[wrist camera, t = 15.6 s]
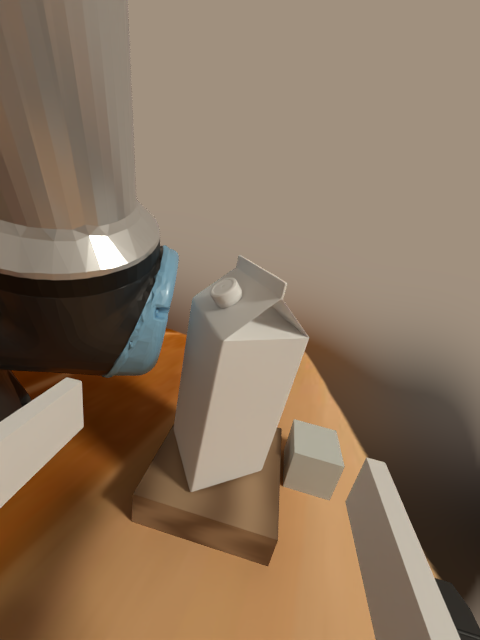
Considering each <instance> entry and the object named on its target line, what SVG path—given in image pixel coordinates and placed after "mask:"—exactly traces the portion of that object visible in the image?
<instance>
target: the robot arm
mask: <svg viewBox="0 0 480 640" xmlns="http://www.w3.org/2000/svg"><path fill="white" fill-rule="evenodd" d="M178 257H179V256H178V253H177V252H176V251H174V250H172V249H170V248H168V247H167V246H160V231H159V225H158V222H157V220H156V219H155V217H154V216H153V215H152V214H151V213H150V212H149V211H148V210H147V209H146V208H145V207H144V206H143V205H142V204H140V202H139V201H138V200H137V199H136V178H135V155H134V133H133V110H132V88H131V64H130V42H129V19H128V0H0V508H1V507H2V506H3V505H4V504H5V503H6V502H7V501H8V500H9V499H10V498H11V497H12V496H13V495H14V494H15V493H16V492H17V491H18V490H19V489H20V488H21V487H22V486H23V485H24V484H25V483H26V482H27V481H28V480H29V479H31V478H32V477H33V476H34V475H35V474H36V473H37V472H38V471H39V470H40V469H41V468H42V467H43V466H44V465H45V464H46V463H47V462H48V461H49V460H50V459H51V458H52V457H53V456H54V455H55V454H56V453H57V452H58V451H59V450H60V449H61V448H62V447H63V446H64V445H65V444H67V443H68V442H69V441H70V440H71V439H72V438H73V437H74V436H75V435H76V434H77V433H78V432H79V431H80V430H81V429H82V428H83V427H84V422H83V399H82V381H79V380H76V379H72V378H68V377H66V378H65V379H63V380H62V381H60V382H59V383H57V384H56V385H54V386H53V387H51V388H50V389H48V390H47V391H46V392H44V393H43V394H41V395H40V396H38V397H37V398H35V399H34V400H31V398H30V396H29V395H28V393H27V392H26V391H25V389H24V388H23V386H22V385H21V384H20V382H19V381H18V380H17V378H16V377H15V375H14V374H13V373H12V371H11V370H17V371H36V372H54V373H69V374H84V375H99V376H102V377H106V378H109V377H112V376H114V375H129V376H136V375H143V374H145V373H147V372H149V371H150V370H151V369H153V367H154V366H155V365H156V363H157V360H158V357H159V354H160V350H161V347H162V342H163V338H164V334H165V329H166V324H167V318H168V312H169V309H170V303H171V300H172V296H173V291H174V285H175V280H176V274H177V268H178V260H179V259H178ZM346 506H347V511H348V516H349V520H350V525H351V529H352V534H353V538H354V543H355V547H356V552H357V557H358V561H359V566H360V570H361V575H362V579H363V584H364V588H365V593H366V597H367V602H368V607H369V611H370V616H371V620H372V625H373V629H374V634H375V638H376V640H480V628H479V626H478V624H477V622H476V620H475V618H474V616H473V614H472V612H471V610H470V608H469V607H468V605H467V604H466V603H465V601H464V600H463V598H462V597H461V596H460V594H459V593H458V592H457V590H456V589H455V588H454V586H453V585H452V583H449V582H446V581H443V580H439V579H436V578H434V576H433V574H432V571H431V569H430V567H429V564H428V562H427V560H426V557H425V555H424V553H423V550H422V548H421V546H420V543H419V541H418V539H417V537H416V534H415V532H414V529H413V527H412V525H411V522H410V520H409V518H408V515H407V513H406V511H405V508H404V506H403V503H402V501H401V499H400V497H399V494H398V492H397V490H396V487H395V485H394V482H393V480H392V478H391V475H390V473H389V471H388V468H387V466H386V464H385V463H384V462H381V461H377V460H374V459H370V458H366V459H365V462H364V464H363V466H362V468H361V470H360V472H359V474H358V476H357V478H356V481H355V483H354V485H353V487H352V489H351V491H350V493H349V495H348V497H347V500H346Z"/></svg>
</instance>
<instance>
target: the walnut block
mask: <svg viewBox="0 0 480 640" xmlns="http://www.w3.org/2000/svg"><path fill="white" fill-rule="evenodd" d="M280 458H281V428H277V429H276V432H275V435H274V437H273V440H272V443H271V446H270V448H269V451H268V454H267V457H266V460H265V462H264V465H263V468H262V470H261V471H258V472H255V473H252V474H249V475H246V476H242V477H239V478H236V479H233V480H229V481H226V482H223V483H220V484H216V485H213V486H210V487H207V488H203V489H200V490H197V491H194V492H190V489H189V486H188V482H187V478H186V475H185V471H184V467H183V463H182V459H181V456H180V452H179V448H178V444H177V440H176V437H175V433H174V425H173V427H172V428H171V430H170V432H169V434H168V435H167V437H166V439H165V440H164V442H163V444H162V445H161V447H160V449H159V451H158V452H157V454H156V456H155V457H154V459H153V461H152V462H151V464H150V466H149V468H148V469H147V471H146V473H145V474H144V476H143V478H142V480H141V481H140V483H139V485H138V486H137V488H136V490H135V491H134V493H133V504H132V522H134V523H138V524H141V525H144V526H147V527H150V528H153V529H156V530H159V531H162V532H165V533H168V534H171V535H174V536H177V537H180V538H183V539H186V540H189V541H192V542H195V543H198V544H201V545H204V546H207V547H210V548H214V549H217V550H220V551H223V552H226V553H229V554H232V555H235V556H238V557H241V558H244V559H247V560H250V561H253V562H256V563H259V564H262V565H265V566H268V565H269V562H270V560H271V557H272V554H273V552H274V549H275V546H276V544H277V541H278V518H279V488H280Z"/></svg>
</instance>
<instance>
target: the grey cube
mask: <svg viewBox="0 0 480 640" xmlns="http://www.w3.org/2000/svg"><path fill="white" fill-rule="evenodd" d="M343 469H344V462H343V458H342V454H341V449H340V445H339V441H338V436H337V432H336V431H335V430H331V429H328V428H324V427H320V426H317V425H313V424H310V423H306V422H302V421H299V420H295V419H294V421H293V424H292V427H291V430H290V433H289V436H288V439H287V442H286V445H285V449H284V469H283V487H287V488H290V489H293V490H297V491H300V492H303V493H306V494H310V495H313V496H316V497H320V498H323V499H326V500H330V498H331V496H332V494H333V492H334V490H335V487H336V485H337V483H338V481H339V478H340V476H341V474H342V472H343Z"/></svg>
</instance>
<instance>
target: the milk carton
mask: <svg viewBox="0 0 480 640" xmlns="http://www.w3.org/2000/svg"><path fill="white" fill-rule="evenodd" d="M286 287H287V283H286V282H285V281H283V280H282V279H280V278H278V277H276V276H275V275H273V274H271V273H270V272H268V271H266V270H265V269H263V268H261V267H260V266H258V265H256V264H255V263H253V262H251V261H250V260H248V259H246V258H245V257H243V256H241V255H239V256H238V262H237V266H236V268H235V269H233V270H232V271H230V272H229V273H227V274H226V275H224V276H223V277H222V278H220V279H219V280H217V281H216V282H214V283H213V284H212V285H210V286H209V287H207V288H206V289H204V290H203V291H202V292H200V293H199V294H197V295H196V296H195V297H194V298H193V300H192V305H191V311H190V319H189V326H188V332H187V339H186V346H185V353H184V360H183V367H182V374H181V381H180V388H179V395H178V402H177V408H176V415H175V422H174V433H175V437H176V440H177V444H178V448H179V452H180V456H181V459H182V463H183V467H184V471H185V475H186V478H187V482H188V486H189V489H190V492H194V491H197V490H200V489H203V488H207V487H210V486H213V485H216V484H220V483H223V482H226V481H229V480H233V479H236V478H239V477H242V476H246V475H249V474H252V473H255V472H258V471H261V470H262V468H263V465H264V462H265V460H266V457H267V454H268V451H269V448H270V446H271V443H272V440H273V437H274V435H275V432H276V429H277V426H278V423H279V421H280V418H281V415H282V412H283V409H284V407H285V404H286V401H287V398H288V395H289V393H290V390H291V387H292V384H293V381H294V379H295V376H296V373H297V370H298V367H299V365H300V362H301V359H302V356H303V353H304V351H305V348H306V345H307V342H308V339H309V337H308V335H307V334H306V332H305V331H304V329H303V328H302V326H301V325H300V323H299V322H298V321H297V319H296V318H295V316H294V315H293V313H292V312H291V311H290V309H289V308H288V306H287V305H286V303H285V302H284V300H283V297H284V293H285V290H286Z"/></svg>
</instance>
